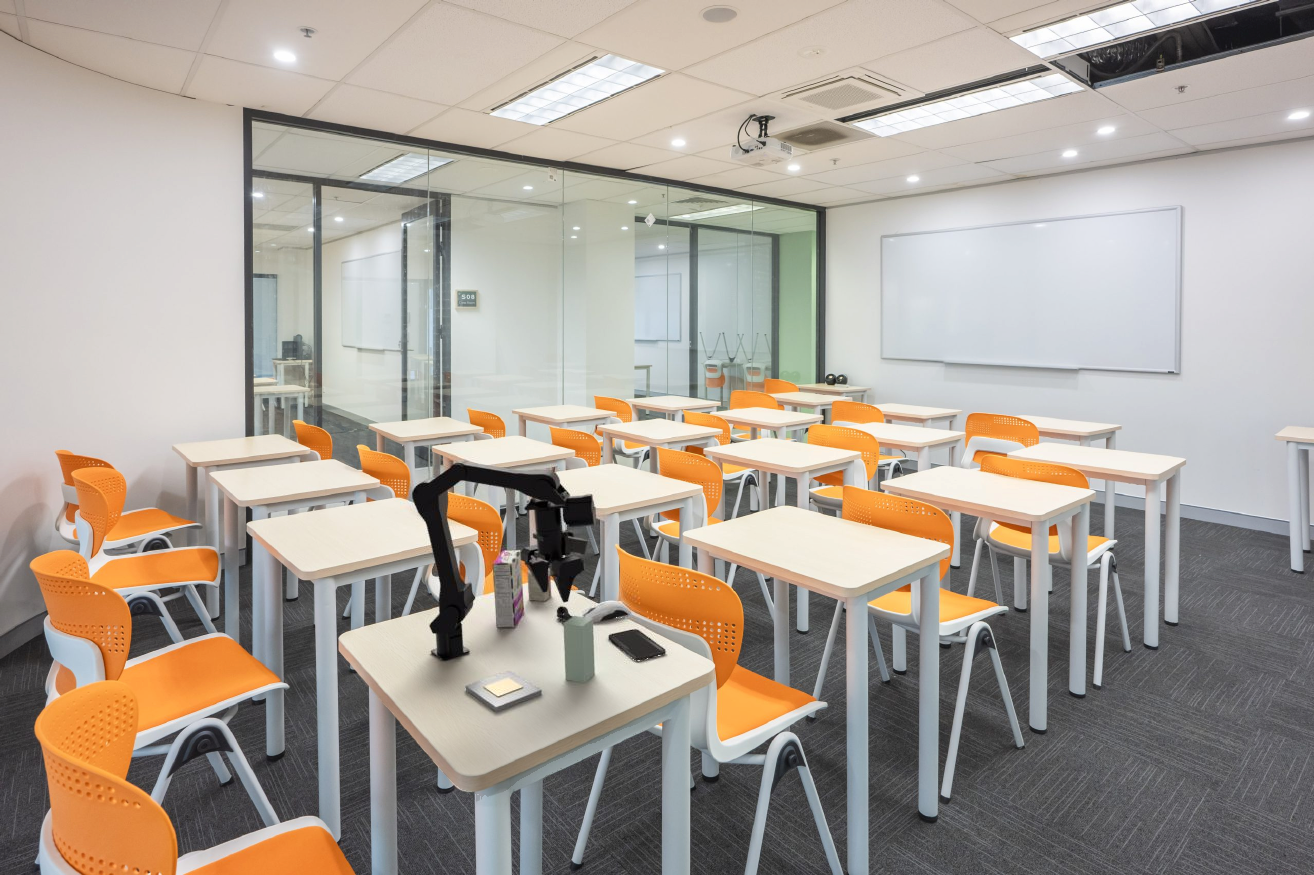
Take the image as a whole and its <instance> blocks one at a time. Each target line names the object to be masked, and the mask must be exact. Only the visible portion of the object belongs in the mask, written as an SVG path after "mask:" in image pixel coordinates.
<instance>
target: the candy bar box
mask: <svg viewBox="0 0 1314 875" xmlns="http://www.w3.org/2000/svg"><path fill="white" fill-rule="evenodd" d="M521 551H522V550H520V549H519V550H518V549H517V550H516V549H515V550H513V549H511V550H502V551H501V552H500V554H499V555H498V556H497V558H496V559H495V560H494V562H492V575H493V576H492V578H493V590H494V591H493V593H494V606H495V608H494V609H495V622H496V625H495V626H496V629H497V628H498V629H507V628H508V629H509V628H514V629H515V628H516V627H517V625H518V623H519V621H520V619H521V618H522V615H523V613H525V608H524V590H523V575H522V574H523V573H522V560H521Z"/></svg>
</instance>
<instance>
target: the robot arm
mask: <svg viewBox="0 0 1314 875" xmlns="http://www.w3.org/2000/svg"><path fill="white" fill-rule="evenodd" d="M460 482H469V483H473V484H474V483H475V484H481V485H486V486H493V487H498V488H504V489H510V490H514V491H517V492H520V493H521V494H523V495H525V496H527V497H530V500H529V502H528V503H527V505H525V506H524V511H533V512H534V523H535V532H534V533H532V538H533V540H534V539H535V540H536V544H534V545H530V546H525V547H523V548H522V550H520V551H521V562H522V561H523V562H524V565H525V566H526V567H527V569H528V571H530V572H531V574H532V575H533V577H534V578H535V580H536V582H537V583H538V585H539V587H540V589H541V590H542V592H543V593H545V592H547V591H548V569H549V567H550V566H551V571H552V574H551V578H552V579H553V582H554V583H555V587H556V589H557V592H558V594H559V597H560V598H561V600H562V603H568V602H569V599H570V594H571V591H572V587H573V584H574V580H575V578H576V577H577V576H578V575H581V574H582V572H585V571H586V563H585V560H583V558H581V557H578V556H576V555H574V554H573V555H571V553H577V554H580V555H584V556H585V555H586V552H587V546H588V542H589V541H588V540H586V539H585V538H579V537H577V536H574V534H575V533H574V532H572V531H569V530H563V522H564V524H565V525H568V527H569V528H575V527H576V528H577V527H578V528H579V527H588V526H589V527H591V526H596V524H597V509H596V506H595V501H594V499H593V494H592V493H590V494H589V493H586V494H584V495H571V494H570V493H569V491H568V490H567V488H565V487H564V486H563V485H562V484H561V479H560V477H559V475H558V474H557V472H555V471H554V470H552V469H547V468H546V469H541V468H540V469H538V468H537V469H527V470H526V469H525V470H522V469H521V470H518V469H511V468H505V467H500V466H493V465H489V464H482V463H478V462H470V461H468V460H466V459H462V460H461V459H460V460H459V461H458V460H457V461H456V462H454V463H453V464H452V465H451V466H450V467H449V468H447V469H446V470H445V471H443V472H442V473H441V474H439V475H437V476H436V477H429V478H427V479H425V480H424V481H421V482H419V483H418V484H416V485H415V487H414V488H413V490H412V492H411V499H412V501H413V503H414V506H415V509H416V510H417V513H418V515H419V516H420V517H421V518H422V519H423V521H424V522H425V525H426V527H427V528H426V529H427V534H428V537H429V541H430V546H431V550H432V555H433V558H434V564H435V566H436V572H437V573H436V574H437V577H438V580H439V595H438V614H437V615H436V616H435V618H434V619H433V620H432V621H431V622H430V623H429V629H430V631H431V633H432V634H435V642H436V648H433V649H431V650H430V653H431V654H432V653H433V655H434V656H435V657H437V658H438V659H440V660H441V661H448V660H451V659H453V658H457V657H460V656H463V655H466V654H469V653H470V649H469V648H467V647H466V646H464V640H463V635H464V634H463V624H462V622H463V621H464V620H465V618H467V616H468V614H470V612H471V610H472V609H473V607H474V601H475V600H476V596H475V595H474V593H473V584H472V582H467V583H466V582H465V581H464V580H463V579H462V577H461V572H460V569H459V565H458V560H457V556H456V551H455V547H454V544H453V539H452V534H451V529H450V526H449V521H448V509H449V490H450V489H452V488H454V487H455V486H456V485H457V484H458V483H460Z"/></svg>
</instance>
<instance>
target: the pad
mask: <svg viewBox="0 0 1314 875" xmlns="http://www.w3.org/2000/svg"><path fill="white" fill-rule="evenodd" d="M465 691H466V692H467V693H469V694H470V695H472V696H473V697H474V698H476V699H477V700H478V701H479V702H481V703H483V704H484V705H486V706H487V707H488V708H490V709H491V710H493V711H494V712H495V713H498V712H500V711H503V710H506V709H508V708H510V707H514V706H515V705H518V704H522V703H524V702H526V701H529V700H531V699H533V698H536V697H539V696H541V695H543V693H542V692H543V691H542V689H541V688H540V687H538V686H536V685H535V684H533V683H532V682H530V681H528V680H526V679H525V678H524V677H521V676H520V675H518V674H517V673H515V672H513V671H512V670H510V669H509V670H506V671H504V672H501V673H499V674H495V675H492V676H489V677H486V678H484V679H480V680H478V681H475V682H472V683H469V684H467V685H465Z"/></svg>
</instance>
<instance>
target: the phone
mask: <svg viewBox="0 0 1314 875" xmlns="http://www.w3.org/2000/svg"><path fill="white" fill-rule="evenodd" d="M608 640H609V641H610V642H611V643H612V644H613V645H615V646H616V647H617V648H618V647H619V648H620V649H619V648H618V649H619V650H621V652H623V651H624V652H625V653H624V652H623V653H624V654H626V655H627V656H628V655H629V656H630V657H629V656H628V657H629V658H631V657H632V658H631V659H632V660H633V659H634V660H643V661H645V660H644V659H647V658H651V657H654V656H658V655H663V654H665V653H667V650H666V648H664V647H662V646H661V645H660V644H659V643H657V642H656V641H655V640H653V639H652V638H650V637H649V636H648V635H646V634H645V633H644V632H642V631H641V630H639V629H638V628H634V629H632V628H631V629H628V630H623V631H619V632H615V633H610V634H608ZM665 655H666V654H665ZM663 656H664V655H663ZM634 660H633V661H634ZM647 660H648V659H647Z"/></svg>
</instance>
